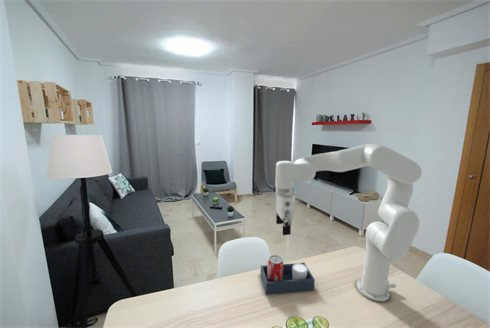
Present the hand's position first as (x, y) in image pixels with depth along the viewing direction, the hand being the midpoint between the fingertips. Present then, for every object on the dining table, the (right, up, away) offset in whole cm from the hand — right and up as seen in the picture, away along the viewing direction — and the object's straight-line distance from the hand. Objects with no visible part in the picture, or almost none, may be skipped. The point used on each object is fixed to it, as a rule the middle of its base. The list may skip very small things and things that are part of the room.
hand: (282, 228), depth 95 cm
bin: (+2, -27, +6) cm, 28 cm away
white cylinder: (+9, -26, +7) cm, 29 cm away
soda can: (-3, -26, +6) cm, 27 cm away
